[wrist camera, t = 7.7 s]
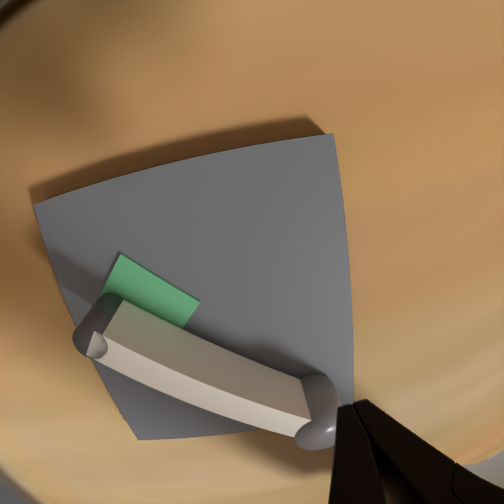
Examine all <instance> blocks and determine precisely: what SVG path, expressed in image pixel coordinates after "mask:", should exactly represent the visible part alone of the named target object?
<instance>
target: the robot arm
mask: <svg viewBox="0 0 504 504" xmlns="http://www.w3.org/2000/svg"><path fill="white" fill-rule="evenodd" d="M328 504H504V489H503V488H501V487H499V486H496V485H494V484H492V483H490V482H488V481H486V480H484V479H482V478H480V477H479V476H477V475H475V474H473V473H472V472H470V471H468V470H467V469H465V468H464V467H462V466H461V465H460V464H458V463H455V462H454V461H453V460H452V459H450V458H449V457H447V456H446V455H445V454H443V453H442V452H440V451H439V450H437V449H436V448H434V447H433V446H431V445H430V444H429V443H427V442H426V441H424V440H423V439H421V438H420V437H419V436H417V435H416V434H414V433H413V432H411V431H410V430H409V429H407V428H406V427H404V426H403V425H402V424H400V423H399V422H397V421H396V420H395V419H393V418H392V417H391V416H389V415H388V414H386V413H385V412H384V411H382V410H381V409H380V408H378V407H377V406H376V405H374V404H373V403H371V402H370V401H369V400H367V399H363V400H360V401H356V402H354V403H352V404H346V405H342V406H339V407H338V408H337V417H336V431H335V444H334V456H333V466H332V476H331V485H330V493H329V501H328Z"/></svg>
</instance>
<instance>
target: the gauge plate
mask: <svg viewBox="0 0 504 504" xmlns="http://www.w3.org/2000/svg"><path fill="white" fill-rule="evenodd" d="M33 206H34V210H35V213H36V217H37V221H38V224H39V227H40V231H41V234H42V237H43V241H44V244H45V247H46V250H47V253H48V256H49V259H50V262H51V265H52V268H53V270H54V273H55V276H56V279H57V281H58V284H59V287H60V289H61V292H62V294H63V297H64V299H65V302H66V304H67V307H68V309H69V311H70V314H71V316H72V318H73V321H74V323H75V325H76V328H77V327H78V325H79V324H80V323H81V321H82V320H83V319H84V317H85V316H86V314H87V313H88V312H89V310H90V309H91V308H92V306H93V305H94V304H95V302H96V301H97V300H98V298H99V297H100V296H101V295H102V294H104V293H115V294H117V295H119V296H120V297H121V298H122V299H123V300H125V301H127V302H129V303H131V304H132V305H134V306H136V307H138V308H140V309H142V310H144V311H146V312H148V313H150V314H152V315H154V316H156V317H158V318H160V319H162V320H164V321H166V322H168V323H170V324H172V325H174V326H176V327H178V328H180V329H182V330H185V331H187V332H189V333H191V334H193V335H195V336H197V337H199V338H202V339H204V340H206V341H208V342H210V343H213V344H215V345H217V346H219V347H222V348H224V349H226V350H229V351H231V352H233V353H235V354H238V355H240V356H243V357H245V358H247V359H250V360H252V361H255V362H257V363H259V364H262V365H264V366H267V367H269V368H272V369H274V370H277V371H279V372H282V373H285V374H287V375H290V376H292V377H295V378H298V379H300V378H302V377H304V376H308V375H323V376H326V377H328V378H329V379H331V380H332V382H333V384H334V386H335V389H336V391H337V394H338V396H339V399H340V401H341V404H342V405H346V404H352V403H353V381H354V371H353V323H352V300H351V283H350V269H349V256H348V244H347V233H346V223H345V214H344V205H343V197H342V189H341V181H340V173H339V166H338V159H337V153H336V146H335V140H334V134H323V135H315V136H308V137H301V138H294V139H288V140H281V141H275V142H269V143H263V144H257V145H252V146H246V147H241V148H236V149H231V150H226V151H221V152H216V153H211V154H207V155H202V156H197V157H193V158H189V159H184V160H180V161H176V162H172V163H168V164H163V165H160V166H156V167H152V168H148V169H144V170H140V171H137V172H133V173H129V174H126V175H122V176H119V177H115V178H112V179H108V180H105V181H102V182H98V183H95V184H92V185H89V186H85V187H82V188H79V189H76V190H73V191H70V192H67V193H64V194H61V195H58V196H55V197H52V198H49V199H47V200H44V201H41V202H39V203H36V204H34V205H33ZM92 361H93V363H94V365H95V367H96V369H97V371H98V373H99V375H100V376H101V378H102V380H103V382H104V384H105V386H106V387H107V389H108V391H109V393H110V395H111V396H112V398H113V400H114V402H115V403H116V405H117V407H118V408H119V410H120V412H121V413H122V415H123V417H124V418H125V420H126V422H127V423H128V425H129V426H130V428H131V429H132V431H133V433H134V434H135V436H136V437H137V439H138V440H158V439H177V438H191V437H202V436H212V435H221V434H229V433H237V432H244V431H250V430H257V429H262V428H259V427H256V426H252V425H249V424H246V423H243V422H240V421H237V420H234V419H231V418H228V417H225V416H222V415H219V414H216V413H214V412H211V411H208V410H206V409H203V408H200V407H198V406H195V405H192V404H190V403H187V402H185V401H182V400H180V399H177V398H175V397H173V396H170V395H168V394H165V393H163V392H161V391H158V390H156V389H154V388H152V387H149V386H147V385H145V384H143V383H141V382H138V381H136V380H134V379H132V378H130V377H128V376H126V375H124V374H122V373H120V372H118V371H116V370H114V369H112V368H110V367H108V366H106V365H104V364H102V363H100V362H98V361H96V360H94V359H92Z"/></svg>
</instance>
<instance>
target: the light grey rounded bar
mask: <svg viewBox="0 0 504 504" xmlns="http://www.w3.org/2000/svg"><path fill="white" fill-rule="evenodd" d="M73 342H74V345H75V347H76V348H77V350H78V351H79V352H80V353H81V354H83V355H84V356H86V357H88V358H91V359H94V360H96V361H98V362H100V363H102V364H104V365H106V366H108V367H110V368H112V369H114V370H116V371H118V372H120V373H122V374H124V375H126V376H128V377H130V378H132V379H134V380H136V381H138V382H141V383H143V384H145V385H147V386H149V387H152V388H154V389H156V390H158V391H161V392H163V393H165V394H168V395H170V396H173V397H175V398H177V399H180V400H182V401H185V402H187V403H190V404H192V405H195V406H198V407H200V408H203V409H206V410H208V411H211V412H214V413H216V414H219V415H222V416H225V417H228V418H231V419H234V420H237V421H240V422H243V423H246V424H249V425H252V426H256V427H259V428H262V429H266V430H269V431H272V432H276V433H280V434H283V435H287V436H291V437H294V441H295V443H296V445H297V446H298V447H300V448H302V449H305V450H312V451H313V450H322V449H326V448H329V447H332V446H334V444H335V431H336V417H337V408H338V407H339V406H342V404H341V401H340V399H339V396H338V394H337V391H336V389H335V386H334V384H333V382H332V380H331V379H329V378H328V377H326V376H323V375H308V376H304V377H302V378H300V379H298V378H295V377H292V376H290V375H287V374H285V373H282V372H279V371H277V370H274V369H272V368H269V367H267V366H264V365H262V364H259V363H257V362H255V361H252V360H250V359H247V358H245V357H243V356H240V355H238V354H235V353H233V352H231V351H229V350H226V349H224V348H222V347H219V346H217V345H215V344H213V343H210V342H208V341H206V340H204V339H202V338H199V337H197V336H195V335H193V334H191V333H189V332H187V331H185V330H182V329H180V328H178V327H176V326H174V325H172V324H170V323H168V322H166V321H164V320H162V319H160V318H158V317H156V316H154V315H152V314H150V313H148V312H146V311H144V310H142V309H140V308H138V307H136V306H134V305H132V304H131V303H129V302H127V301H125V300H123V299H122V298H121V297H120V296H119V295H117V294H115V293H104V294H102V295H101V296H100V297H99V298H98V300H97V301H96V302H95V304H94V305H93V306H92V308H91V309H90V310H89V312H88V313H87V314H86V316H85V317H84V319H83V320H82V321H81V323H80V324H79V325H78V327H77V328H76V330H75V331H74V333H73Z"/></svg>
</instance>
